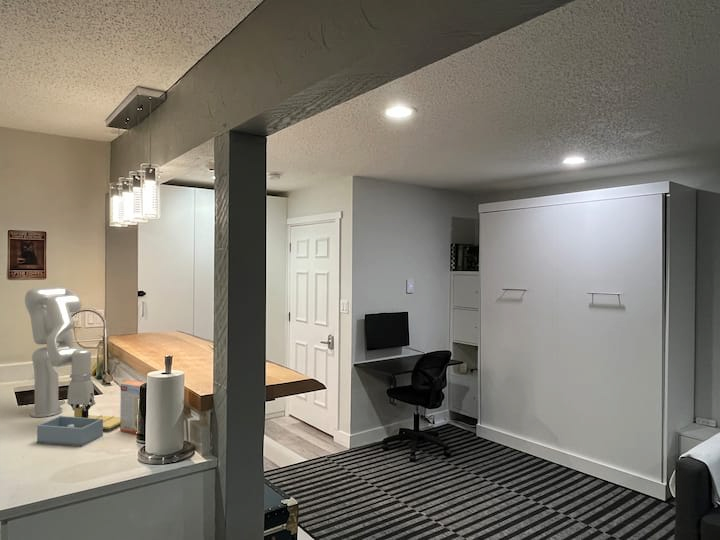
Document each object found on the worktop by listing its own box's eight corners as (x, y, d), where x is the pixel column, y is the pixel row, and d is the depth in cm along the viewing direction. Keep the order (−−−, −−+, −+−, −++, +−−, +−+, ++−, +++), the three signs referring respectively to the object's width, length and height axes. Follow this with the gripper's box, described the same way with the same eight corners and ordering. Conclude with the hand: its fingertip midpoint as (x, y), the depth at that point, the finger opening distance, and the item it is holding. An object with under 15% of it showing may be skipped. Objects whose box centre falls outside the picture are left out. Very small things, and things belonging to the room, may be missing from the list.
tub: (37, 442, 192) (37, 425, 192) (59, 432, 204) (60, 416, 204) (82, 446, 189) (82, 428, 189) (102, 435, 201) (102, 418, 201)
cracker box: (154, 431, 206) (154, 383, 206) (142, 436, 201) (143, 386, 200) (131, 426, 212) (131, 379, 212) (119, 431, 207) (119, 382, 206)
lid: (66, 425, 208) (66, 411, 208) (86, 416, 220) (86, 403, 220) (109, 428, 205) (109, 414, 205) (127, 419, 217) (128, 405, 217)
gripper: (58, 378, 211) (58, 420, 211) (92, 380, 208) (92, 422, 209) (71, 374, 218) (71, 415, 218) (103, 376, 216) (103, 417, 216)
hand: (81, 418), depth 214 cm, fingers closed on lid, 3 cm apart
